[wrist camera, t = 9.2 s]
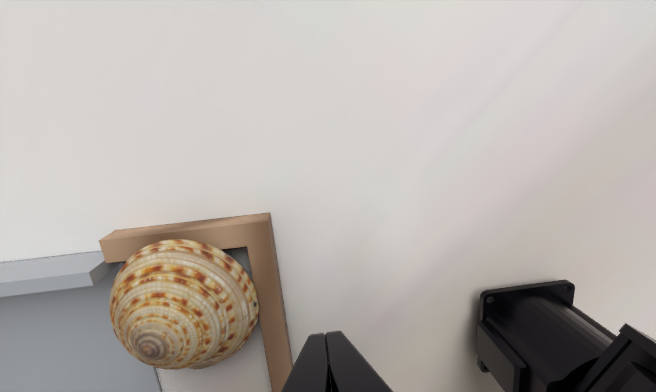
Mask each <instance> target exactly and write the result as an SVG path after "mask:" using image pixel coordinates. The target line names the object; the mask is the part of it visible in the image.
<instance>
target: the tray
mask: <svg viewBox="0 0 656 392" xmlns="http://www.w3.org/2000/svg"><path fill="white" fill-rule="evenodd" d="M124 264H125V263H124V261H121V262H112V263H106V262H105V259H104V256H103V252H102V251H95V252H86V253H78V254H69V255H61V256H52V257H44V258H35V259H27V260H18V261H10V262H2V263H0V392H162V391H161V387H160V384H159V380H158V377H157V373H156V370H155V367H153V366H150V365H147V364H145V363H143V362H141V361H139V360H137V359H136V358H135V357H133V356H132V355H131V354H129V353H128V351H127V350H126V349H125V348H124V347H123V346H122V344H121V343H120V342H119V340H118V339H117V337H116V335H115V333H114V330H113V326H112V323H111V320H110V313H109V299H110V293H111V288H112V285H113V282H114V280H115V278H116V276H117V274H118V273H119V271H120V270H121V268H122V266H123V265H124Z"/></svg>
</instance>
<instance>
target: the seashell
mask: <svg viewBox="0 0 656 392" xmlns="http://www.w3.org/2000/svg"><path fill="white" fill-rule="evenodd" d="M109 313H110V320H111V323H112V326H113V330H114V333H115V335H116V337H117V339H118V340H119V342H120V343H121V344H122V346H123V347H124V348H125V349H126V350H127V351H128V353H129V354H131V355H132V356H133V357H135V358H136V359H137V360H139V361H141V362H143V363H145V364H147V365H150V366H153V367H156V368H162V369H182V368H192V369H202V368H205V367H209V366H212V365H214V364H217V363H218V362H220V361H222V360H224V359H226V358H228V357H230V356H231V355H233V354H234V353H235V352H236V351H238V350H239V349H240V348H241V347H242V346H243V345H244V344H245V342H246V341H247V340H248V338H249V337H250V335H251V334H252V332H253V330H254V328H255V325H256V323H257V320H258V313H259V305H258V299H257V294H256V290H255V287H254V285H253V283H252V281H251V279H250V277H249V276H248V274H247V273H246V271H245V270H244V269H243V267H242V266H241V265H240V264H239V263H238V262H237V261H236V260H235V259H233V258H232V257H230V256H229V255H228V254H226V253H225V252H223V251H222V250H220V249H218V248H216V247H213V246H211V245H209V244H206V243H202V242H198V241H191V240H183V239H171V240H164V241H159V242H156V243H153V244H150V245H148V246H146V247H144V248H142V249H140V250H139V251H137V252H136V253H135V254H134V255H132V256H131V257H130V258H129V259H128V260H127V261H126V263H125V264H124V265H123V266H122V268H121V270H120V271H119V273H118V274H117V276H116V278H115V280H114V282H113V285H112V288H111V293H110V299H109Z"/></svg>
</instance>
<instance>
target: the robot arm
mask: <svg viewBox="0 0 656 392" xmlns="http://www.w3.org/2000/svg"><path fill="white" fill-rule="evenodd" d="M565 287H566V288H565ZM574 290H575V286H574V284H572V283H571V282H569V281H567V280H559V281H551V282H544V283H536V284H529V285H521V286H514V287H506V288H499V289H492V290H486V291H484V292H482V294H481V295H480V309H479V322H478V324H477V347H476V353H477V355H478V362H477V364H478V367H479V368H480V369H481V371H482V372H484V373H487V372H491V374H492V375H493V376H494V378H495V379H496V380H497V382H498V383H499V384H500V386H501V387H502V389H503V390H504V391H505V392H656V340H654V339H652V338H651V337H649V336H647V335H645V334H644V333H642V332H640V331H638V330H637V329H635V328H633V327H631V326H630V325H628V324H626V323H625V324H624V325H623V327H622V328H621V329H620V330H619V332H621V333H620V334H619V335H618V336H616V335H614V334H613V333H611V332H610V331H609V330H607V329H606V328H604V327H603V326H602V325H600V324H599V323H597V322H596V321H594V320H593V319H592V318H590V317H589V316H587V315H586V314H584V313H583V312H582V311H580V310H579V309H577V308H576V307H574V306H573V298H574ZM488 297H490V298H489V299H488V300H487V298H488ZM326 345H327V346H326ZM327 354H328V355H327ZM328 362H329V364H328ZM329 371H330V373H329ZM330 380H331V382H330ZM331 389H332V390H331ZM281 392H393V391H392V390H391V389H390V387H389V386H388V385H387V384H386V383H385V382H384V380H383V379H382V378H381V377H380V376H379V375H378V373H377V372H376V371H375V370H374V369H373V368H372V366H371V365H370V364H369V363H368V362H367V361H366V359H365V358H364V357H363V356H362V355H361V354H360V353H359V351H358V350H357V349H356V348H355V347H354V346H353V344H352V343H351V342H350V341H349V340H348V339H347V337H346V336H345V335H344V334H343V333H342V332H341V331H333V332H327V333H326V337H325V334H324V333H318V334H311V335H310V336H309V337H308V339H307V341H306V343H305V345H304V347H303V349H302V350H301V352H300V354H299V356H298V358H297V360H296V362H295V364H294V366H293V368H292V370H291V372H290V374H289V376H288V378H287V380H286V382H285V384H284V386H283V388H282V390H281Z"/></svg>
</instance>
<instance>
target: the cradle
mask: <svg viewBox="0 0 656 392" xmlns="http://www.w3.org/2000/svg"><path fill="white" fill-rule="evenodd" d="M171 239H183V240H191V241H198V242H202V243H206V244H209V245H211V246H213V247H216V248H218V249H229V248H237V247H245V246H247V249H248V255H249V261H250V267H251V272H252V278H253V284H254V287H255V290H256V294H257V299H258V305H259V318H260V324H261V330H262V335H263V341H264V347H265V353H266V358H267V364H268V370H269V376H270V381H271V387H272V392H281V390H282V388H283V386H284V384H285V382H286V380H287V378H288V376H289V374H290V372H291V370H292V368H293V363H292V356H291V350H290V343H289V336H288V330H287V323H286V316H285V309H284V303H283V296H282V289H281V283H280V276H279V269H278V262H277V256H276V249H275V242H274V236H273V229H272V222H271V215H270V213H262V214H254V215H245V216H236V217H227V218H219V219H210V220H201V221H193V222H184V223H175V224H166V225H158V226H149V227H140V228H132V229H123V230H115V231H113V232H112V233H110V234H109V235H107V236H105V237H104V238H102V239H101V240H99V242H100V246H101V249H102V252H103V256H104V259H105V262H106V263H112V262H121V261H127V260H128V259H129V258H130V257H131V256H132V255H134V254H135V253H136V252H137V251H139V250H140V249H142V248H144V247H146V246H148V245H150V244H153V243H156V242H159V241H164V240H171Z"/></svg>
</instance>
